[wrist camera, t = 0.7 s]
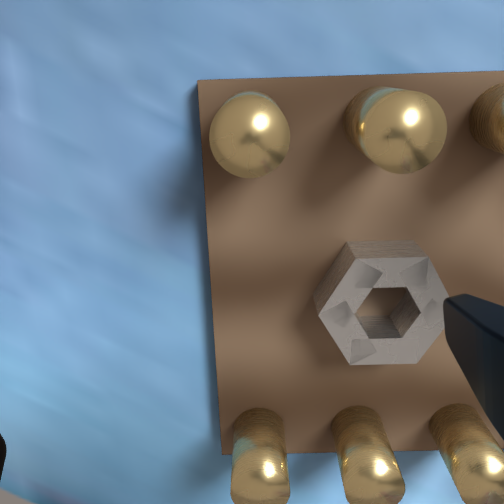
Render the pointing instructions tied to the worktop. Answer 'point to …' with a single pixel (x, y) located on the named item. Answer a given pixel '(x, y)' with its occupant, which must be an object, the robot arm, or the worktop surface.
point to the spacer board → (329, 246)
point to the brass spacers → (359, 417)
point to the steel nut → (384, 326)
